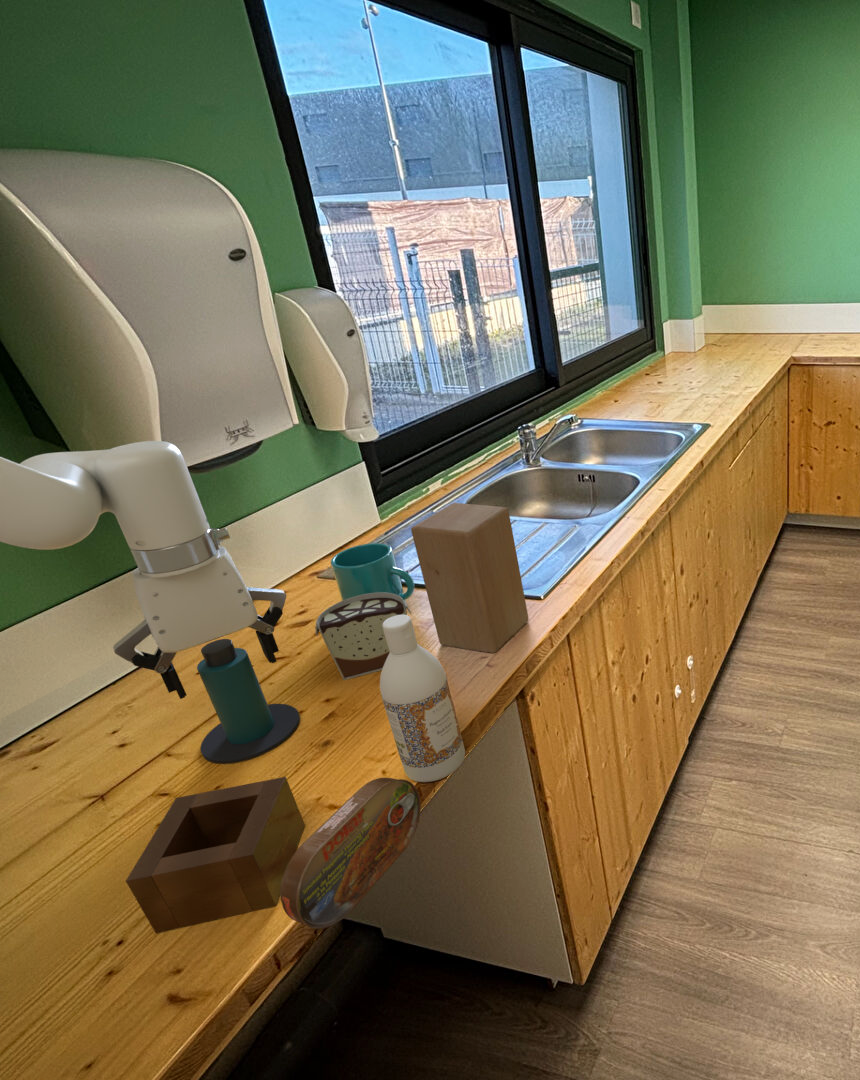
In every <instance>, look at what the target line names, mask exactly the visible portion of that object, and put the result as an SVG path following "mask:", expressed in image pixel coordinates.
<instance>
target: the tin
mask: <svg viewBox="0 0 860 1080" xmlns="http://www.w3.org/2000/svg"><path fill="white" fill-rule="evenodd" d="M421 805H422V804H421V797H420V793H419V790H418V788H417V786H415V784H414V783H412V782H411V781H410V780H408V779H403V778H399V779H398V778H393V777H378V778H375V779H372V780H370V781H368V782H366V783H364V784H363V785H362V786H361V787H360V788H359V789H358V790H356V792H354V794H352V795H351V796H350V797H349V798H348V799H347V801H345V802H344V803H343V804H342V805H341V806H340V807H339V808H338V809H337V810H336V811H335V812H334V813H333V814H332V815H331V816H330V817H328V819H326V821H325V822H324V823H323V824H322V825H321V826H319V827H318V828H317V829H316V830H315V832H313V833H312V834H311V835H310V836H309V837H308V838H307V839H306V840H305V841H304V842H303V843H302V844H301V845H300V846H299V847H297V849H296V852H295V854H294V855H293V857H292V858H291V860H290V862H289V863H288V865H287V868H286V870H285V873H284V875H283V879H282V883H281V888H280V896H279V898H280V901H281V904H282V908H283V911H284V912H285V914H286V915H287V916H288V917H289V918H290V919H291V920H293V921H295V922H297V923H299V924H301V925H303V924H304V925H306V927H308V928H311V929H315V930H323V929H326V928H330V927H332V926H334V925H336V924H338V923H340V922H341V921H342V920H344V919H345V918H346V917H347V916H348V915H349V914H350V913H352V911H353V910H354V909H355V908H356V907H357V906H358V904H359V903H360V902H361V901H362V900H363V899H364V898H365V896H366V895H367V894H368V893H369V892H370V890H371V889H373V887H374V886H375V885H376V884H377V883H378V881H379V880H380V879H381V878H382V877H383V876H384V874H386V873H387V871H388V870H389V869H390V868H391V867H392V865H394V863H395V862H396V861H397V860H398V859H399V858H400V857H401V855H402V854H403V853H404V852H405V851H406V849H407V848H408V847H409V845H410V844H411V841H412V840H413V838H414V836H415V834H416V832H417V829H418V827H419V822H420V818H421V811H422V810H421V809H422V807H421Z"/></svg>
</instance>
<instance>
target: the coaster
mask: <svg viewBox="0 0 860 1080" xmlns="http://www.w3.org/2000/svg"><path fill="white" fill-rule="evenodd" d="M267 705H268V707H269V710H270V712H271V715H272V717H273V720H274V726H273V728H272V729H271V731H270V732H268V733H267V734H266V735H264V736H263V737H261V738H259V739H257V740H255V741H252V742H249V743H245V744H233V743H230V742H229V741H228V739H227V736H226V734H225V732H224V730H223V727H222V725H221V723H218V724H217V725H216V726H214V727H213V728H212V729H211V730H210V731H209V732H208V733H207V734H206V735H205V737H204V738H203V740H202V741H201V744H200V754H201V755H202V757H203V759H205V760H206V761H208V762H210V763H213V764H219V765H228V764H235V763H236V764H237V763H240V762H245V761H249V760H251V759H254V758H258V757H259V756H261V755H265V754H266V753H268V752H270V751H272V750H274V749H275V748H277V747H279V746H280V745H282V744H283V743H285V742H286V741H287V740H288V739H289V738H290V737H292V735H293V734H294V733H295V732H296V730H297V729H298V727H299V725H300V722H301V716H300V713H299V710H297V708H296V707H294V706H292V705H290V704H286V703H269V704H268V703H267Z"/></svg>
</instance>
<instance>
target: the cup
mask: <svg viewBox="0 0 860 1080" xmlns="http://www.w3.org/2000/svg"><path fill="white" fill-rule="evenodd" d="M330 567H331V569H332V573H333V576H334V578H335V582H336V585H337V588H338V592H339V594H340V595H339V596H340V598H341V601H343V600H346V599H348V598H351V597H355V596H358V595H363V594H368V593H379V592H383V593H392V594H396V595H398V596H400V597H401V598H402V599H403V600H404V601H405V602H406V603H407V599H409V598H410V597H411V596H412V595H413V594H414V592H415V586H416V585H415V581H414V579H413V577H412V576H411V575H410V573H409V572H407V571H406V570H404V569H402V568H399V567H397V562H396V558H395V555H394V552H393V548H392V547H391V546H390V545H389V544H386V543H379V542H374V543H364V544H359V545H354V546H352V547H349V548H346V549H344V550H342V551H339V552H338V553H336V554H335V555H334V556H333V557H332V558H331V559H330ZM401 579H402V580H403V581H404V582H405V584H406V588H407V589H406V592H404V589H403V588H404V587H403V586H402V582H401ZM405 608H406V607H405ZM406 609H407V608H406Z"/></svg>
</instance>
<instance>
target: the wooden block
mask: <svg viewBox="0 0 860 1080" xmlns="http://www.w3.org/2000/svg"><path fill="white" fill-rule="evenodd" d="M410 531H411V535H412V539H413V543H414V547H415V552H416V556H417V559H418V563H419V567H420V571H421V575H422V579H423V582H424V587H425V591H426V594H427V595H426V596H427V598H428V602H429V605H430V610H431V614H432V618H433V622H434V627H435V630H436V634H437V638H438V642H439V644H440V645H441V646H444V647H445V646H446V647H450V648H451V647H452V648H457V649H465V650H469V651H470V650H471V651H476V652H482V653H489V652H490V654H494V653H496V652H498V650H499V649H501V648H502V646H503V645H505V644H506V643H507V642H506V641H509V640H510V639H511V638H512V637H514V635H515V634H516V633H517V632H518V631H520V630H521V628H522V627H523V626H525V625H526V623H528V622H529V614H528V607H527V603H526V602H527V601H526V598H525V597H526V596H525V592H524V591H525V590H524V585H523V580H522V575H521V570H520V565H519V559H518V554H517V553H518V552H517V547H516V543H515V537H514V533H513V532H514V531H513V527H512V522H511V516H510V511H509V508H508V507H506V506H497V505H496V506H494V505H483V504H474V503H473V504H472V503H462V502H461V503H460V502H453V503H450V504H449V505H447V506H446V507H444V508H442V509H441V510H439V511H437V512H435V513H434V514H432V515H430V516H428V517H427V518H425V519H422V520H421V521H420V522H417V524H414V525H413V526H411V528H410ZM509 638H510V639H509ZM505 642H506V643H505Z"/></svg>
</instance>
